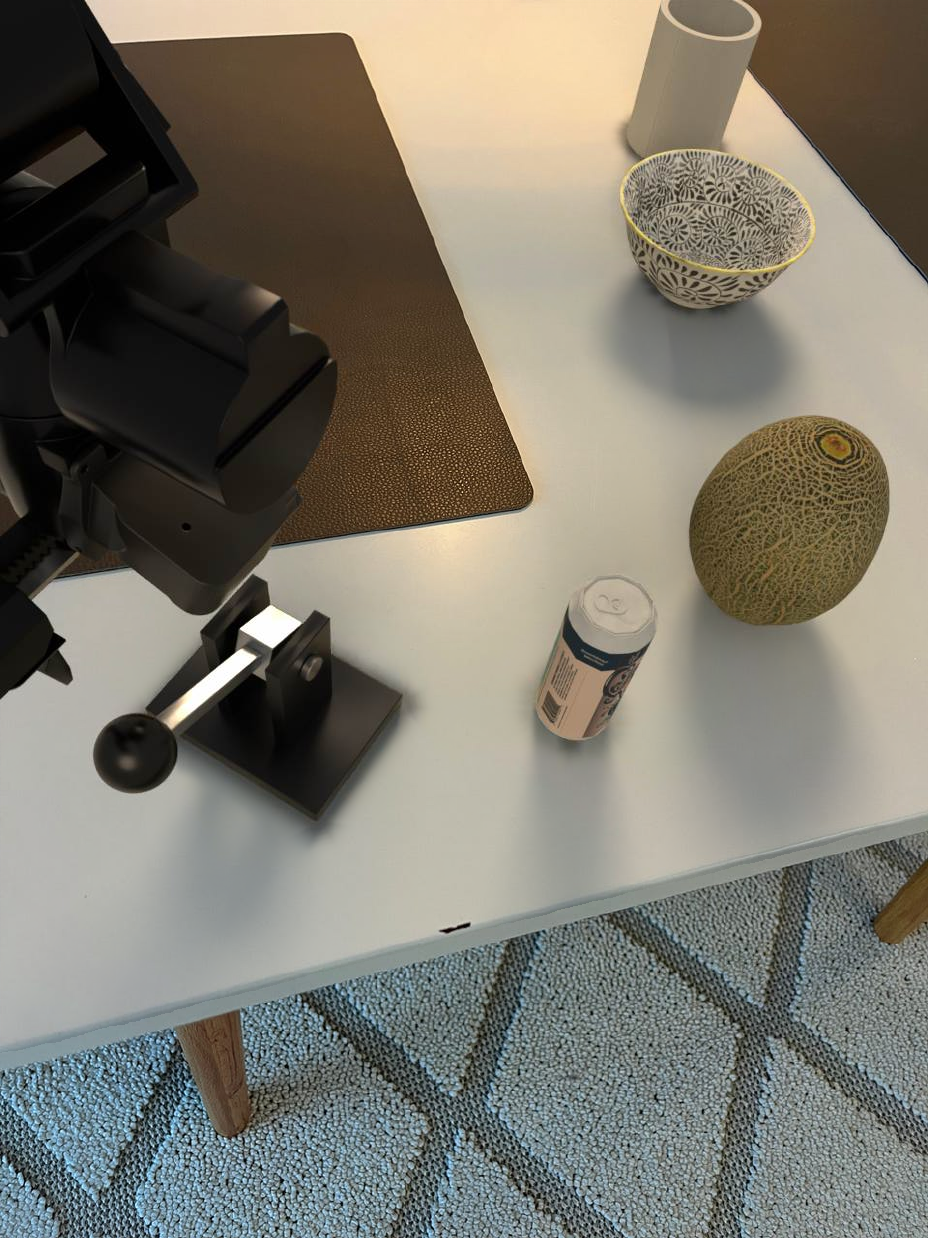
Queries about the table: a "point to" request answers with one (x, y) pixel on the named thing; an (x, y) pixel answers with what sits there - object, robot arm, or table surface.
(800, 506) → the fruit
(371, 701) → the lever base
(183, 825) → the table surface
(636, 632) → the beer can
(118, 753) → the ball knob lever
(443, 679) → the table surface
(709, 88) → the cup
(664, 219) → the bowl
